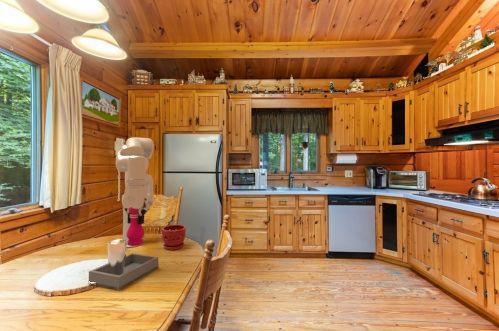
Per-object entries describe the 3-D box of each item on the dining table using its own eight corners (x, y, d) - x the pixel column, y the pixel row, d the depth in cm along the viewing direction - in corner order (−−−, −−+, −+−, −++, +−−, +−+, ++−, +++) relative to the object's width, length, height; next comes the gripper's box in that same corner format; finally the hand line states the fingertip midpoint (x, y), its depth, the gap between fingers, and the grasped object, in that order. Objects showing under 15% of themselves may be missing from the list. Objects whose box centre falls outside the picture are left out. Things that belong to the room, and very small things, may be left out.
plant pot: (158, 247, 143) (158, 226, 143) (179, 242, 152) (179, 223, 152) (167, 253, 133) (167, 231, 133) (189, 248, 142) (189, 227, 142)
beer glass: (129, 274, 104) (130, 239, 104) (119, 282, 97) (119, 244, 97) (114, 273, 104) (114, 238, 105) (102, 281, 97) (103, 243, 98)
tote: (131, 263, 118) (132, 253, 118) (158, 267, 113) (158, 257, 114) (88, 284, 97) (88, 271, 97) (118, 290, 92) (119, 277, 92)
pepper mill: (137, 247, 106) (138, 200, 106) (122, 245, 107) (123, 200, 107) (147, 242, 113) (148, 198, 113) (133, 241, 114) (134, 198, 114)
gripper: (115, 183, 109) (114, 223, 109) (146, 184, 104) (145, 226, 104) (128, 182, 117) (127, 220, 116) (157, 183, 111) (157, 223, 111)
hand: (135, 223), depth 110 cm, fingers closed on pepper mill, 5 cm apart
